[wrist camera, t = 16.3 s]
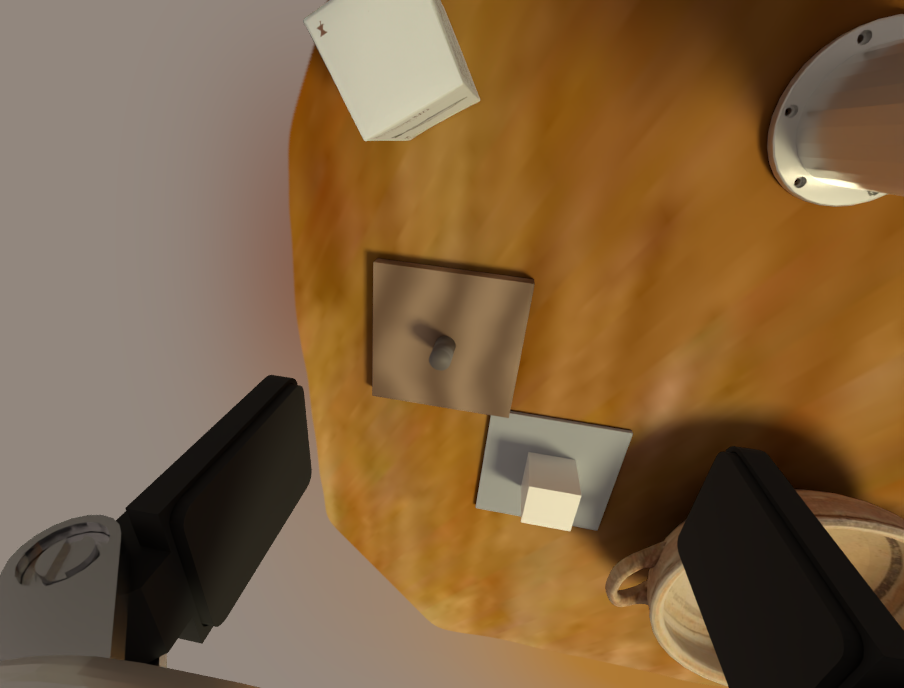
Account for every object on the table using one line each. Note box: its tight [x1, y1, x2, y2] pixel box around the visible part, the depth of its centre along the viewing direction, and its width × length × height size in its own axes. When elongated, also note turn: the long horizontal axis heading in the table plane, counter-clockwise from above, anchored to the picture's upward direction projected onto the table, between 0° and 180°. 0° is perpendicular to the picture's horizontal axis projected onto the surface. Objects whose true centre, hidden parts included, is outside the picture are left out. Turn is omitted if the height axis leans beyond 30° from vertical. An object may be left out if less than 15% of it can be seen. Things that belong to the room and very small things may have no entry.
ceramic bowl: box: [605, 489, 904, 686], centre depth 47 cm, size 37×29×10 cm
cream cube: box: [521, 452, 582, 531], centre depth 49 cm, size 6×6×6 cm
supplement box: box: [303, 0, 480, 141], centre depth 30 cm, size 7×7×13 cm
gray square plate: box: [476, 411, 633, 531], centre depth 51 cm, size 16×16×1 cm
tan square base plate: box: [372, 258, 534, 418], centre depth 43 cm, size 16×16×5 cm
